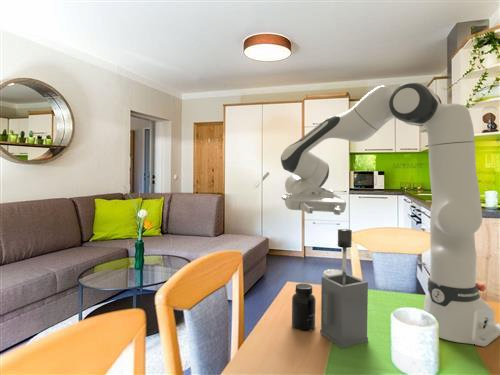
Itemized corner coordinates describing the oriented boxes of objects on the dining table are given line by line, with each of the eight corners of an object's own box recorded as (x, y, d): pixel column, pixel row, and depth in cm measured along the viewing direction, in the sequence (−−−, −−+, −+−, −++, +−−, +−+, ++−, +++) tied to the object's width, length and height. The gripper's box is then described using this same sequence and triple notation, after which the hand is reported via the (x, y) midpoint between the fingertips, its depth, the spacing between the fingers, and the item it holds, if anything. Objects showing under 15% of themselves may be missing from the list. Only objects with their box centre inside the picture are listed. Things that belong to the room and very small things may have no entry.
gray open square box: (345, 326, 96) (346, 272, 95) (368, 341, 88) (369, 282, 87) (314, 334, 92) (315, 277, 91) (335, 350, 83) (336, 288, 83)
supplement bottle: (315, 332, 92) (315, 291, 92) (290, 330, 94) (291, 289, 93) (315, 321, 99) (315, 282, 99) (292, 319, 101) (292, 281, 100)
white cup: (328, 294, 121) (328, 267, 120) (349, 299, 116) (350, 271, 115) (319, 301, 114) (319, 273, 114) (341, 307, 110) (342, 277, 109)
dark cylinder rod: (345, 286, 93) (346, 227, 93) (360, 293, 88) (361, 231, 87) (328, 289, 91) (328, 229, 90) (342, 297, 86) (343, 233, 85)
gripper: (281, 186, 111) (295, 200, 98) (336, 190, 116) (356, 204, 103) (278, 203, 113) (291, 219, 100) (332, 207, 118) (351, 222, 105)
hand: (324, 212), depth 101 cm, fingers open, 8 cm apart
